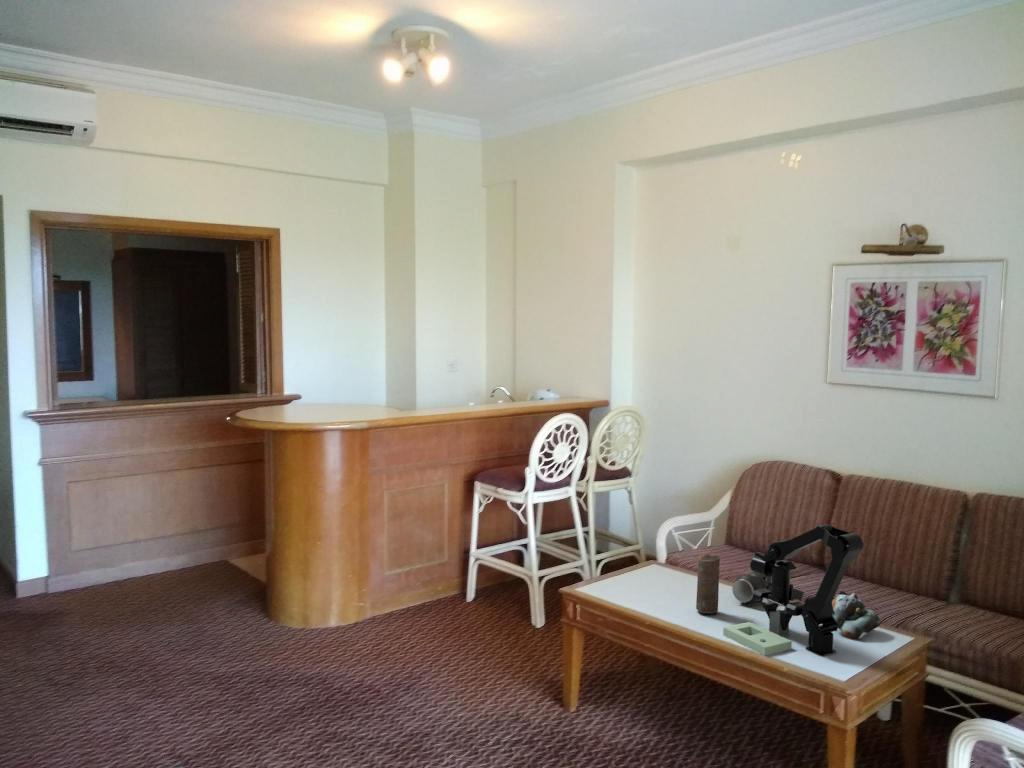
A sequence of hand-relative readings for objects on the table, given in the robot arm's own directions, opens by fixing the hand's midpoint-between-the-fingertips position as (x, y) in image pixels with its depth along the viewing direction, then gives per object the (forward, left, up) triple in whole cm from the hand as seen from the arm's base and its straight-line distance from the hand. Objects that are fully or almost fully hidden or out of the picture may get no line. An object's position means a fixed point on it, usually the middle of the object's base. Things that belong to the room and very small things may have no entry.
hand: (778, 627), depth 258 cm
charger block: (0, 0, -2) cm, 2 cm away
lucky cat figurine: (-10, -22, -2) cm, 24 cm away
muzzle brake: (+29, -21, -2) cm, 36 cm away
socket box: (-2, +12, -2) cm, 12 cm away
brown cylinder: (+25, +8, -2) cm, 26 cm away
